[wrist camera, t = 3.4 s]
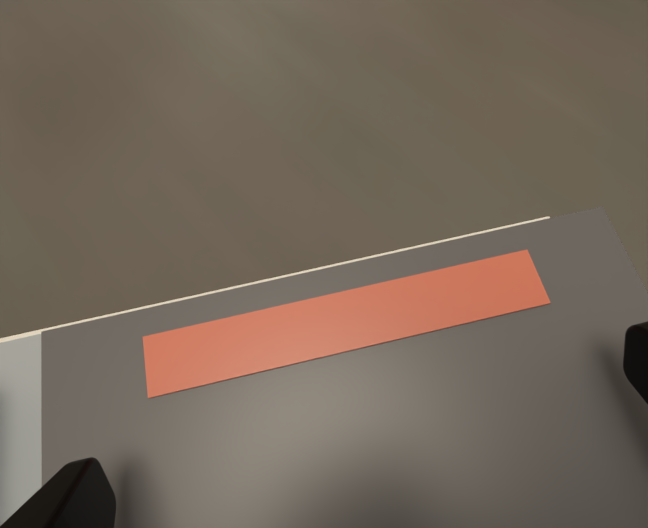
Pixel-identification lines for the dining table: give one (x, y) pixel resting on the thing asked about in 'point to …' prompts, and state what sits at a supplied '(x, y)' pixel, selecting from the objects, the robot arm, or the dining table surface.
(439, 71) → the dining table surface
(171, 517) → the key
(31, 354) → the switch block
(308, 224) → the dining table surface
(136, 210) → the dining table surface
